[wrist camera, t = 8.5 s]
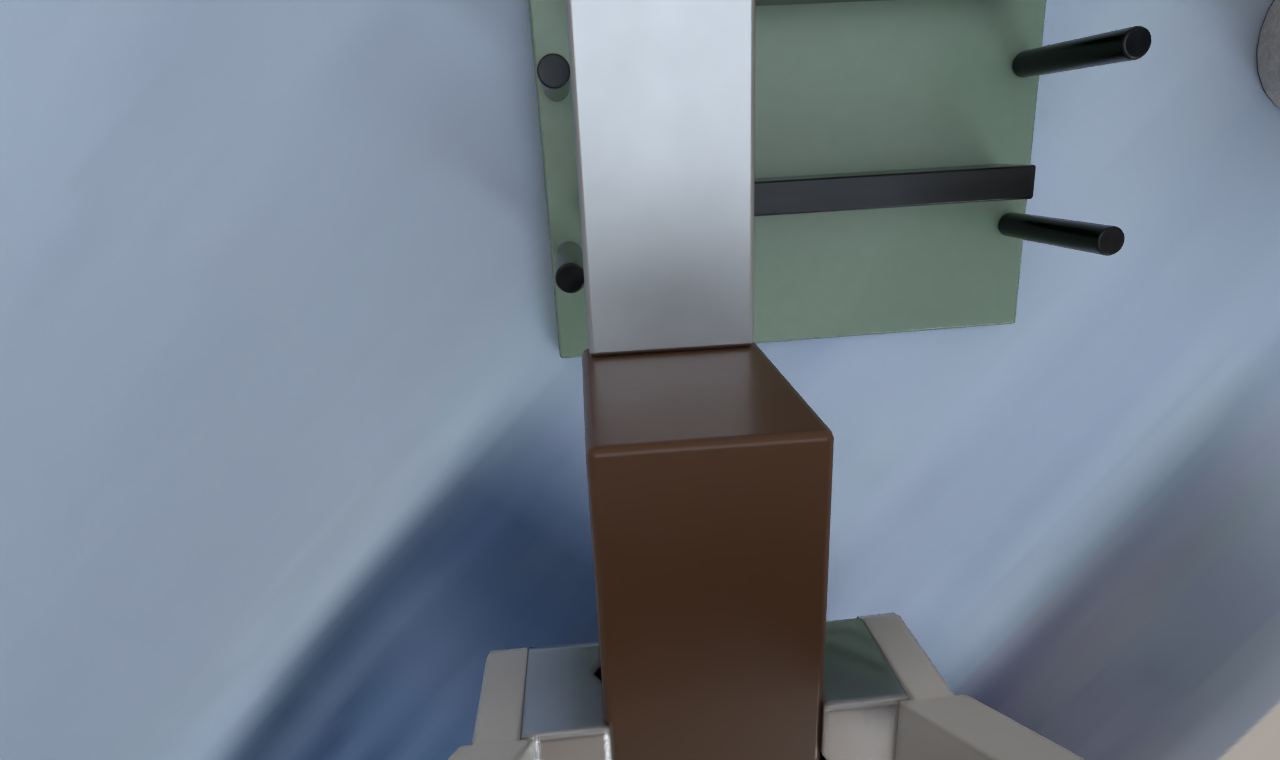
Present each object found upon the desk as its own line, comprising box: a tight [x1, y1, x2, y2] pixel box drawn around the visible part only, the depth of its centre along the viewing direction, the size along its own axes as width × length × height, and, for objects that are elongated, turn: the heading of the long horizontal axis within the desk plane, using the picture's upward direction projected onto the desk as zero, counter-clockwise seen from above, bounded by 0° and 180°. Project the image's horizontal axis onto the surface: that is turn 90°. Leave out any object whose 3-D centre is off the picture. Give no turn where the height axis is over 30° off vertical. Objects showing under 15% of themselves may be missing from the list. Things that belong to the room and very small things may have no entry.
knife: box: [566, 0, 834, 760], centre depth 9 cm, size 17×2×4 cm, turn 2°
